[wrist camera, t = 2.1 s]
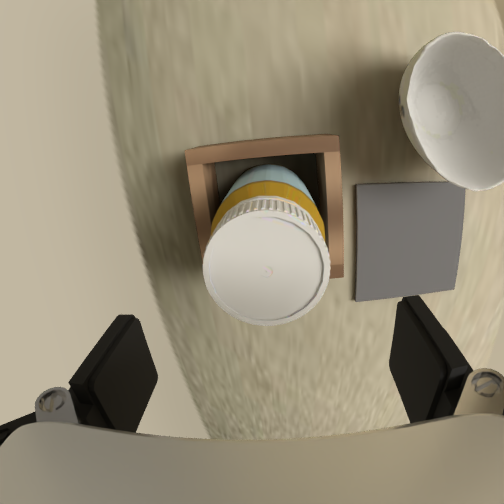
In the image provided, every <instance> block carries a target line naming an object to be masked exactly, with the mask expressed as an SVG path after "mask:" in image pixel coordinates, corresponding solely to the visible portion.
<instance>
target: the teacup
mask: <svg viewBox="0 0 504 504" xmlns="http://www.w3.org/2000/svg"><path fill="white" fill-rule="evenodd" d="M399 110H400V116H401V120H402V124H403V127H404V129H405V132H406V134H407V136H408V138H409V140H410V142H411V143H412V145H413V147H414V148H415V150H416V151H417V152H418V154H419V155H420V156H421V157H422V158H423V159H424V161H425V162H426V163H427V164H428V165H429V166H430V167H432V168H433V169H434V170H435V171H436V172H438V173H439V174H440V175H441V176H442V177H443V178H444V179H445V180H447V181H449V182H450V183H452V184H454V185H456V186H458V187H461V188H465V189H470V190H472V191H485V190H488V189H491V188H494V187H495V186H498V185H500V184H501V183H503V182H504V56H503V54H502V53H501V52H500V51H499V50H498V49H497V48H495V47H494V46H492V45H491V44H488V42H487V41H486V40H485V39H483V38H481V37H479V36H476V35H473V34H468V33H463V32H450V33H445V34H442V35H439V36H438V37H436V38H434V39H433V40H431V41H430V42H428V43H427V44H426V45H424V46H423V47H422V48H421V49H420V50H419V51H418V52H417V53H416V54H415V55H414V57H413V58H412V59H411V61H410V62H409V64H408V66H407V68H406V70H405V72H404V74H403V77H402V80H401V84H400V89H399Z"/></svg>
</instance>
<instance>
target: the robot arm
mask: <svg viewBox="0 0 504 504" xmlns="http://www.w3.org/2000/svg"><path fill="white" fill-rule="evenodd" d="M389 367H390V371H391V373H392V376H393V378H394V381H395V383H396V386H397V388H398V391H399V394H400V396H401V399H402V402H403V404H404V407H405V410H406V412H407V415H408V418H409V420H410V424H405V425H400V426H394V427H388V428H382V429H376V430H369V431H363V432H356V433H348V434H340V435H331V436H320V437H308V438H293V439H271V440H220V439H197V438H182V437H170V436H159V435H150V434H141V433H136V430H137V428H138V425H139V423H140V420H141V418H142V416H143V414H144V411H145V409H146V407H147V404H148V402H149V399H150V397H151V395H152V392H153V390H154V388H155V385H156V383H157V380H158V374H157V371H156V368H155V365H154V362H153V360H152V357H151V354H150V351H149V348H148V345H147V342H146V339H145V336H144V333H143V330H142V326H141V323H140V321H139V319H137V318H135V316H134V315H118V316H117V317H116V319H115V320H114V321H113V322H112V324H111V325H110V326H109V328H108V329H107V330H106V332H105V333H104V334H103V336H102V337H101V338H100V340H99V341H98V342H97V344H96V345H95V346H94V348H93V349H92V351H91V352H90V353H89V355H88V356H87V357H86V359H85V360H84V361H83V363H82V364H81V366H80V367H79V368H78V370H77V371H76V373H75V374H74V375H73V377H72V378H71V380H70V381H69V384H70V386H71V387H70V389H69V390H67V389H65V388H62V387H54V388H50V389H48V390H46V391H44V392H43V393H42V394H41V395H40V396H39V397H38V398H37V400H36V402H35V412H33V413H31V414H28V415H26V416H23V417H21V418H18V419H16V420H13V421H11V422H8V423H6V424H3V425H1V426H0V504H504V377H503V375H502V374H500V373H499V372H497V371H495V370H492V369H487V368H481V369H477V370H474V371H473V369H472V368H471V366H470V365H469V363H468V362H467V360H466V359H465V357H464V356H463V354H462V353H461V351H460V350H459V349H458V347H457V346H456V344H455V343H454V341H453V340H452V338H451V337H450V336H449V334H448V333H447V331H446V330H445V329H444V328H443V327H442V326H441V324H440V323H439V322H438V320H437V319H436V318H435V316H434V315H433V313H432V312H431V311H430V309H429V308H428V307H427V305H426V304H425V303H424V301H423V300H422V299H421V297H420V296H419V295H415V296H407V297H403V299H402V301H400V302H398V304H397V311H396V319H395V327H394V334H393V341H392V347H391V353H390V359H389Z"/></svg>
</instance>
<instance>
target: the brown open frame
mask: <svg viewBox="0 0 504 504" xmlns="http://www.w3.org/2000/svg"><path fill="white" fill-rule="evenodd" d="M304 153H316V165H317V179H318V194H319V212H320V215H321V217H322V220H323V224H324V230H325V243H326V246H327V248H328V252H329V255H330V256H329V259H330V267H331V269H330V276H329V279H330V278H342V277H344V240H343V199H342V177H341V160H340V145H339V136H338V135H331V134H318V135H301V136H287V137H275V138H264V139H254V140H245V141H236V142H228V143H220V144H212V145H205V146H199V147H195V148H192V149H188V150H185V157H186V164H187V171H188V178H189V184H190V191H191V197H192V204H193V210H194V216H195V222H196V228H197V234H198V240H199V245H200V251H201V257H202V262H203V258H204V252H205V250H206V245H207V244H208V241H209V239H210V236H211V227H212V222H213V219H214V217H215V215H216V212H217V210H218V208H219V206H220V200H219V193H218V185H217V178H216V171H215V163H214V162H221V161H229V160H238V159H247V158H257V157H267V156H278V155H291V154H304Z"/></svg>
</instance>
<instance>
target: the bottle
mask: <svg viewBox="0 0 504 504" xmlns="http://www.w3.org/2000/svg"><path fill="white" fill-rule="evenodd" d="M329 256H330V255H329V252H328V248H327V246H326V243H325V230H324V224H323V220H322V217H321V215H320V213H319V211H318V209H317V206H316V205H315V203H314V201H313V199H312V197H311V195H310V194H309V192H308V190H307V188H306V186H305V185H304V183H303V181H302V180H301V179H300V178H299V177H298V176H297V175H296V174H295V173H294V172H293V171H291V170H289V169H287V168H286V167H284V166H281V165H275V164H263V165H257V166H255V167H253V168H251V169H249V170H247V171H245V172H244V173H243V174H242V175H241V176H240V177H239V178H238V179H237V180H236V182H235V183H234V185H233V186H232V188H231V189H230V191H229V192H228V194H227V195H226V197H225V198H224V200H223V201H222V203H221V205H220V206H219V208H218V210H217V212H216V215H215V217H214V219H213V222H212V227H211V236H210V239H209V241H208V244H207V245H206V250H205V252H204V258H203V265H202V267H203V275H204V280H205V284H206V287H207V289H208V291H209V293H210V295H211V297H212V298H213V299H214V301H215V302H216V303H217V304H218V305H219V307H220V308H222V309H223V310H224V311H225V312H226V313H228V314H229V315H231V316H232V317H234V318H236V319H238V320H240V321H243V322H246V323H249V324H254V325H261V326H273V325H280V324H285V323H288V322H291V321H293V320H296V319H298V318H300V317H301V316H303V315H305V314H306V313H307V312H309V311H310V310H311V309H312V308H313V307H314V306H315V305H316V304H317V303H318V302H319V300H320V299H321V297H322V296H323V294H324V292H325V290H326V287H327V285H328V281H329V276H330V269H331V267H330V259H329Z"/></svg>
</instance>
